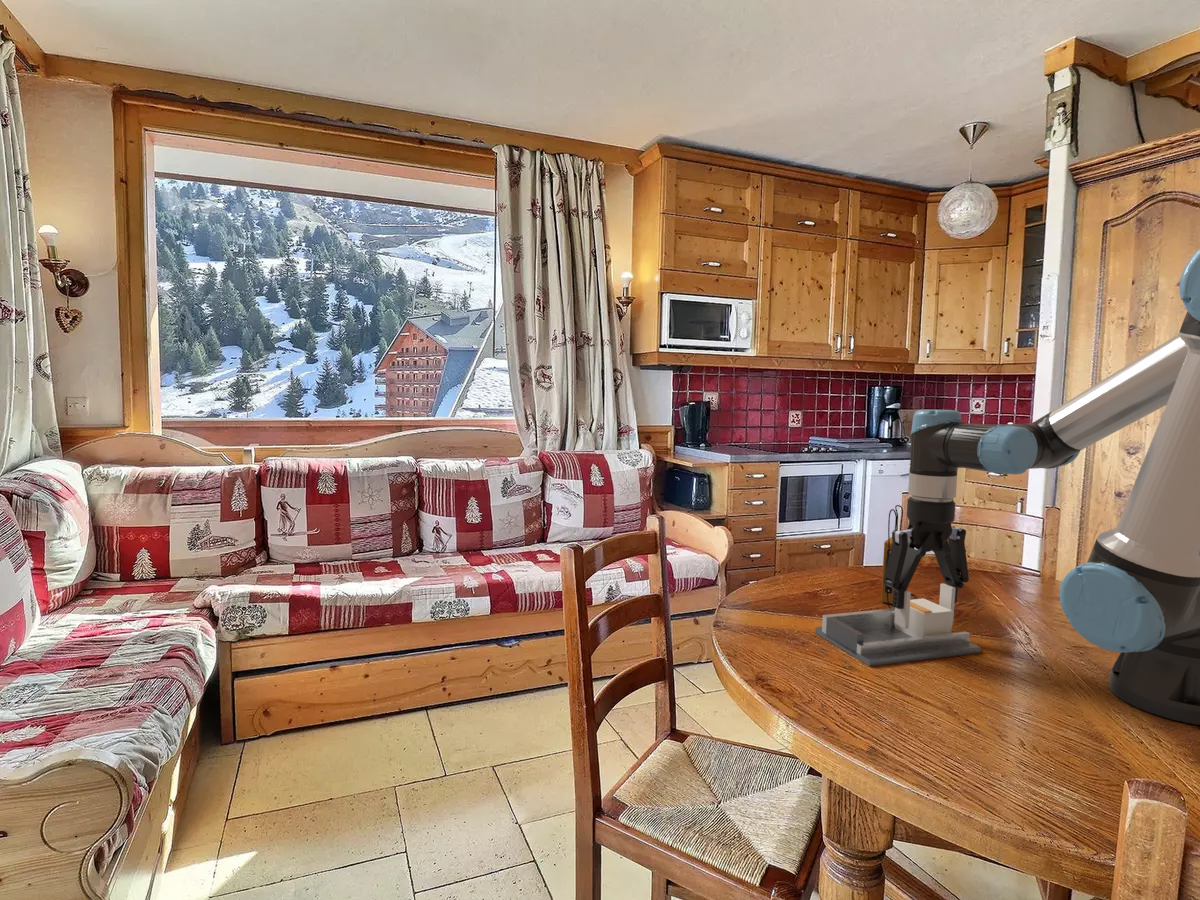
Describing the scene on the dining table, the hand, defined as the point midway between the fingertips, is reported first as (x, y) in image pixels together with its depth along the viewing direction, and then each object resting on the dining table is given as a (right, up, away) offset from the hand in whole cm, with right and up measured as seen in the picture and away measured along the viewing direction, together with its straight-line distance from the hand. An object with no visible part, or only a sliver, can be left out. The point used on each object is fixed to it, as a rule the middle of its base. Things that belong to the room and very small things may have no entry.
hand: (923, 623), depth 119 cm
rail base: (-6, -3, -1) cm, 7 cm away
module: (0, -2, 0) cm, 2 cm away
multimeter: (+7, -1, +20) cm, 21 cm away
